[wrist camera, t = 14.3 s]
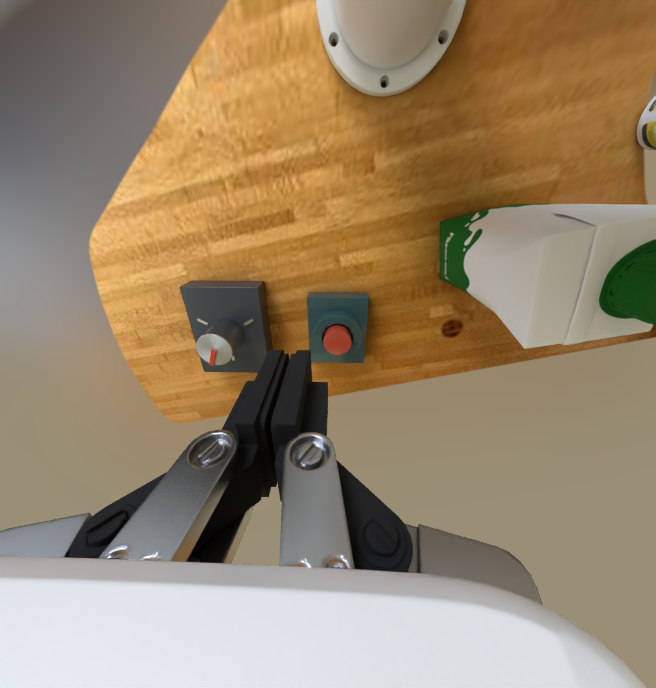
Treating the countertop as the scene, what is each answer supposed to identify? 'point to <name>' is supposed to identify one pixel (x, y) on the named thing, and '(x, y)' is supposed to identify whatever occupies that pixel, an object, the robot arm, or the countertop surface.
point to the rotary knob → (220, 342)
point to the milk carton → (557, 268)
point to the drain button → (337, 340)
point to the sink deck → (231, 318)
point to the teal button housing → (337, 311)
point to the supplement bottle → (648, 126)
